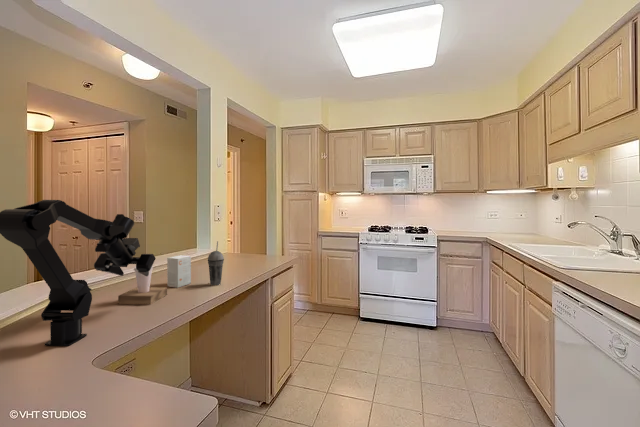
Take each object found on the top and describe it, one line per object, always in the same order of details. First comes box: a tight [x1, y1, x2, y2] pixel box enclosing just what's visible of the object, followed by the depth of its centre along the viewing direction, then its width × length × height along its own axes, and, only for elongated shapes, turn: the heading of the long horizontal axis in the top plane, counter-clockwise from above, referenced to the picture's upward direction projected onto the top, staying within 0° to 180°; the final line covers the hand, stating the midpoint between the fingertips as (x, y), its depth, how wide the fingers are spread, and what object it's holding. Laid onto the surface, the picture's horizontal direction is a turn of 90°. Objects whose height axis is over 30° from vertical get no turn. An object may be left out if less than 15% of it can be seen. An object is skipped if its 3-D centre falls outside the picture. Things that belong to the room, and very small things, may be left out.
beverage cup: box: [207, 241, 225, 286], centre depth 140 cm, size 7×7×20 cm
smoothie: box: [133, 265, 154, 293], centre depth 117 cm, size 6×6×14 cm
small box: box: [166, 254, 192, 288], centre depth 138 cm, size 8×6×13 cm
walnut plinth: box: [117, 286, 168, 305], centre depth 118 cm, size 12×12×3 cm
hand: (135, 274), depth 112 cm, fingers open, 9 cm apart
